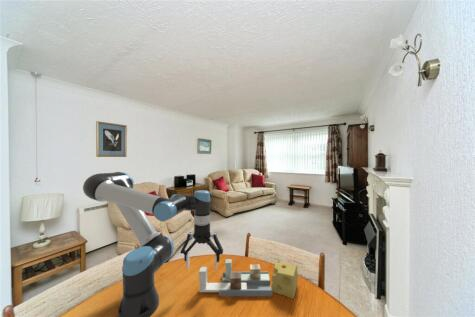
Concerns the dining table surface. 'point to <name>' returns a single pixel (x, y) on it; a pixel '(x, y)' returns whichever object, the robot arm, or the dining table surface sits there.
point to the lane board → (248, 287)
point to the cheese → (285, 279)
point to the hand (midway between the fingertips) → (202, 268)
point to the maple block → (255, 272)
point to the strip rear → (243, 276)
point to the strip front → (212, 286)
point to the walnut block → (235, 281)
